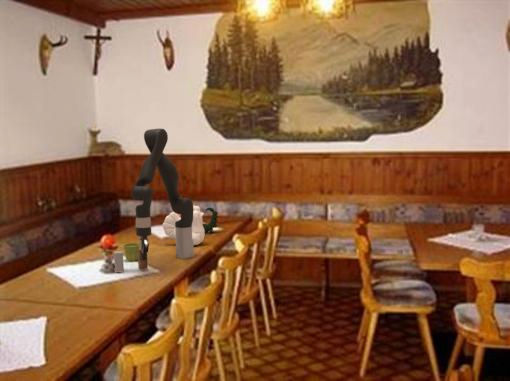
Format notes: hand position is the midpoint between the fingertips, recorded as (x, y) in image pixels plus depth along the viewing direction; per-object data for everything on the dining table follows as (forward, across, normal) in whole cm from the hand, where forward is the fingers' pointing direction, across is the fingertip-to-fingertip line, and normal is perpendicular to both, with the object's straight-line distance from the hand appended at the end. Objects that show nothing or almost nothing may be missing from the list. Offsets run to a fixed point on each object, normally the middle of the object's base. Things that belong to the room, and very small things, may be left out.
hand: (144, 259), depth 275 cm
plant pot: (+6, +27, +2) cm, 27 cm away
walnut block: (+6, +5, 0) cm, 8 cm away
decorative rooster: (+6, +52, -34) cm, 63 cm away
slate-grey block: (+6, +5, +12) cm, 14 cm away
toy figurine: (+6, +85, -53) cm, 101 cm away
